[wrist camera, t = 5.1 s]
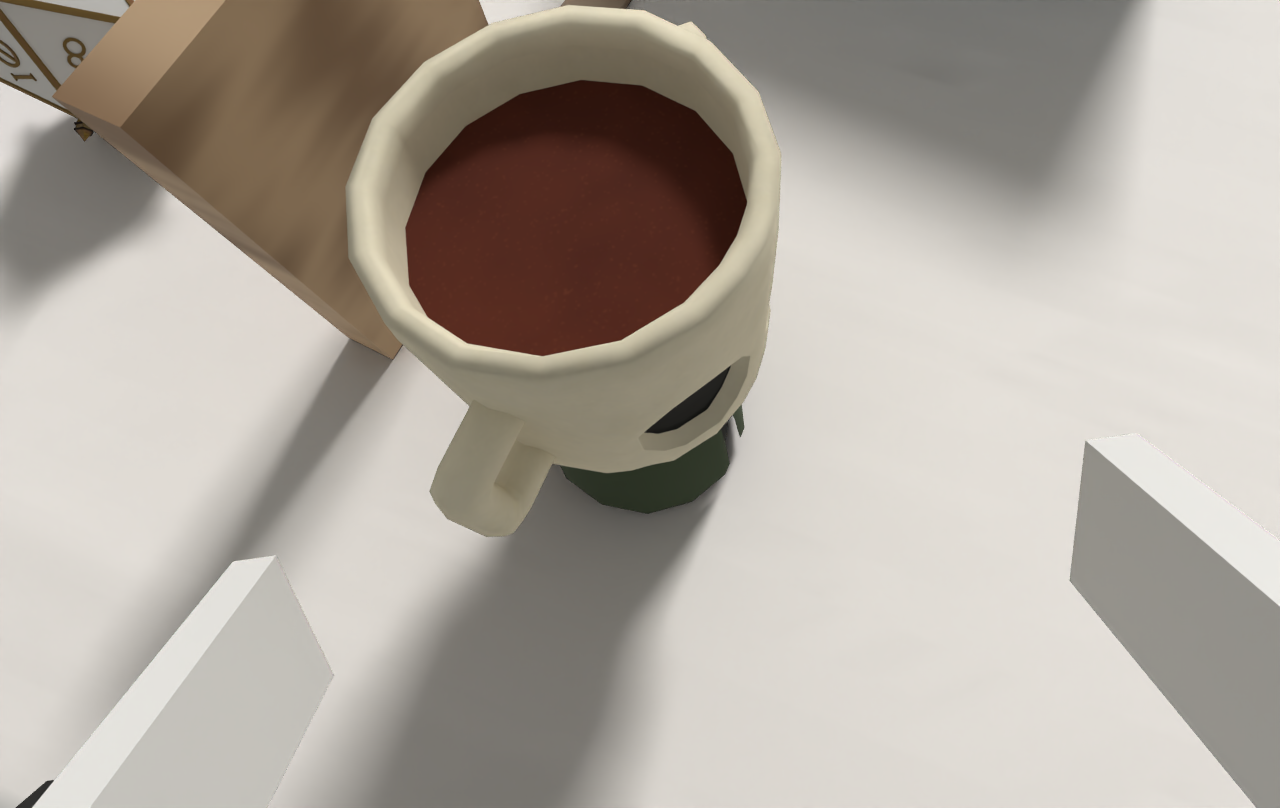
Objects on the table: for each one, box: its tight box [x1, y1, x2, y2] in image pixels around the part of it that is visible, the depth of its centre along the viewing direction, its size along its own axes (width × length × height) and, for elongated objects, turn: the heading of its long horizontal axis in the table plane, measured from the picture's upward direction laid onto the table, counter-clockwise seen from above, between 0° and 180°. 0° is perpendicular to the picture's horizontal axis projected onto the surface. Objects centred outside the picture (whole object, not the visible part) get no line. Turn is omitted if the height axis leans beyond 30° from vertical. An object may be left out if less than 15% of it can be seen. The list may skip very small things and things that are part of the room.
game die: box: [0, 0, 135, 142], centre depth 27 cm, size 9×8×10 cm
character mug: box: [345, 5, 781, 537], centre depth 17 cm, size 11×7×13 cm, turn 156°
